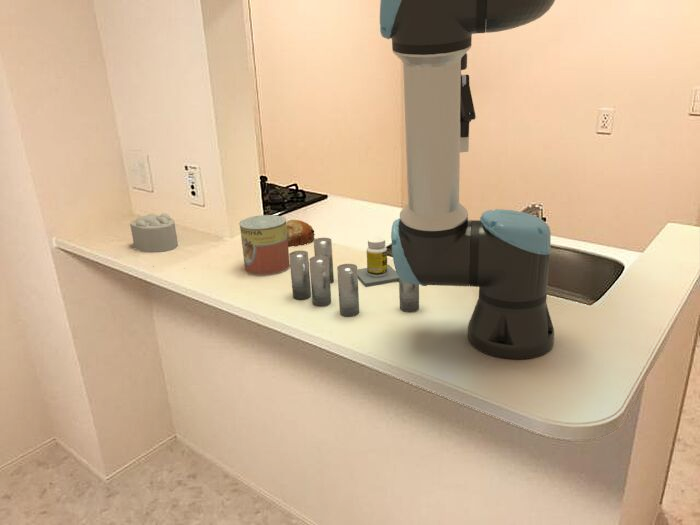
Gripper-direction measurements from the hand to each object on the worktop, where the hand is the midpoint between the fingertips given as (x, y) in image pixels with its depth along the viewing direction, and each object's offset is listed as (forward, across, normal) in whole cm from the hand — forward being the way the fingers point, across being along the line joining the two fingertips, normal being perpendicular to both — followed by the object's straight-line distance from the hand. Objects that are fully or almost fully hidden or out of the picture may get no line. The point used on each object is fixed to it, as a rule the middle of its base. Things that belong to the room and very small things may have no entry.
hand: (448, 148), depth 140 cm
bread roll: (+28, +31, +31) cm, 52 cm away
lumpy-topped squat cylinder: (+28, +44, +68) cm, 86 cm away
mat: (+28, -3, +20) cm, 34 cm away
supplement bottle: (+27, -4, +19) cm, 34 cm away
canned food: (+28, +14, +42) cm, 53 cm away
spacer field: (+28, -12, +29) cm, 42 cm away
